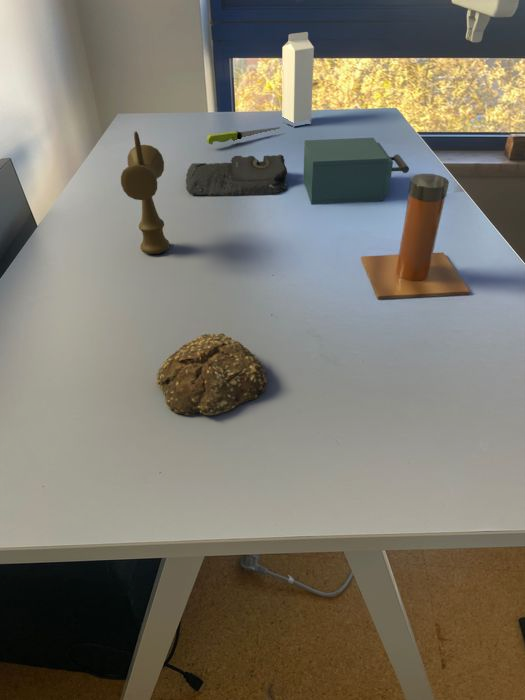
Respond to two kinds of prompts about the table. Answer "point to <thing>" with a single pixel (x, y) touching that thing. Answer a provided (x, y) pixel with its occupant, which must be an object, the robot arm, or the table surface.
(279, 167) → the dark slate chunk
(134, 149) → the kendama
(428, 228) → the spice jar
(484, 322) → the table surface
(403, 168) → the drawer
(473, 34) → the robot arm
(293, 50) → the milk
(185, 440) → the table surface
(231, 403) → the bread roll
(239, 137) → the kitchen knife
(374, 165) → the cabinet
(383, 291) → the wooden board
